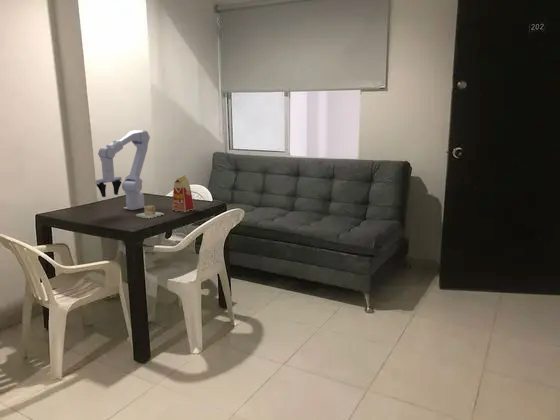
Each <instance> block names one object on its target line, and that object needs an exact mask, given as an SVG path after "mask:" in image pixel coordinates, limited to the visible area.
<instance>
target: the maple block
mask: <svg viewBox="0 0 560 420" xmlns="http://www.w3.org/2000/svg"><path fill="white" fill-rule="evenodd" d="M143 209H144V212H145V215H153V214H155V212H156V206H155V205H145V207H144V208H143Z"/></svg>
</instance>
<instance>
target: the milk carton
mask: <svg viewBox="0 0 560 420" xmlns="http://www.w3.org/2000/svg"><path fill="white" fill-rule="evenodd" d="M172 192H173V194H172V211H173V210H175V211H174V212H177V211H184V212H183V213H187V212H186V211H188V212H190V211H189V210H192V209H195V205H194V199H193V194H192V190H191V186H190V182H189V179H188V178H187V177H186V173H184V174H182V175H181V176H179V177H177V178H176V181H174V183H173V191H172ZM192 211H193V210H192Z"/></svg>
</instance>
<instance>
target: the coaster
mask: <svg viewBox="0 0 560 420" xmlns="http://www.w3.org/2000/svg"><path fill="white" fill-rule="evenodd" d="M161 215H163V216H165V213H164V212H159V211H155V214H153V215H145V211H144V212H141V213H137V214H135V217H138V218H143V219H147V218H148V219H149V220H151V219H155V218H158V217H157V216H159V217H161ZM154 217H155V218H154ZM150 218H151V219H150Z"/></svg>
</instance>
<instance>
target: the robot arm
mask: <svg viewBox="0 0 560 420" xmlns="http://www.w3.org/2000/svg"><path fill="white" fill-rule="evenodd" d="M150 138H151V136H150V135H149V132H148V131H147V130H145V129H144V130H137V129H136V130H134V129H132V130H130V131H128V132H127V134H125V135H124V136H123V137H121V139H113V140H112V142H111V143H109V144H106V145H105V146H102V147H100V148H99V150H98V152H97V155H98V158H100V162H101V172H102V178H101V179H95V180H94V181H95V184H96V187H97V188H98V190H99V192H100V195H101V197H102V198H106V196H107V195H106V193H107V192H106V189H107V184H108V183H112V187H113V194H114V195H115V196H118V195H119V190H120V187H121V189H122V190H123V192H124V193H125V202H126V206H125V207H124V206H123V209H125V210H129V211H134V210H138V209H144V207H145V206H146V205H145V195H144V193H143V192H142V189H143V180H142V179H141V173H142V170H143V166H144V162H145V158H146V157H147V152H148V149H149V148H148V147H149V142H150ZM130 142H132V144H133V146H135V148H136V152H135V155H134V158H133V162H132V165H131V169H130V172H129V174H128V175H127V176H125V178H124V181H122V176H116V177H115V168H114V158H115V157H116V154H117V153H118V152H120V151H122V150H123V149H124V146H125V145H127V144H129V143H130ZM106 183H107V184H106Z"/></svg>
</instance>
